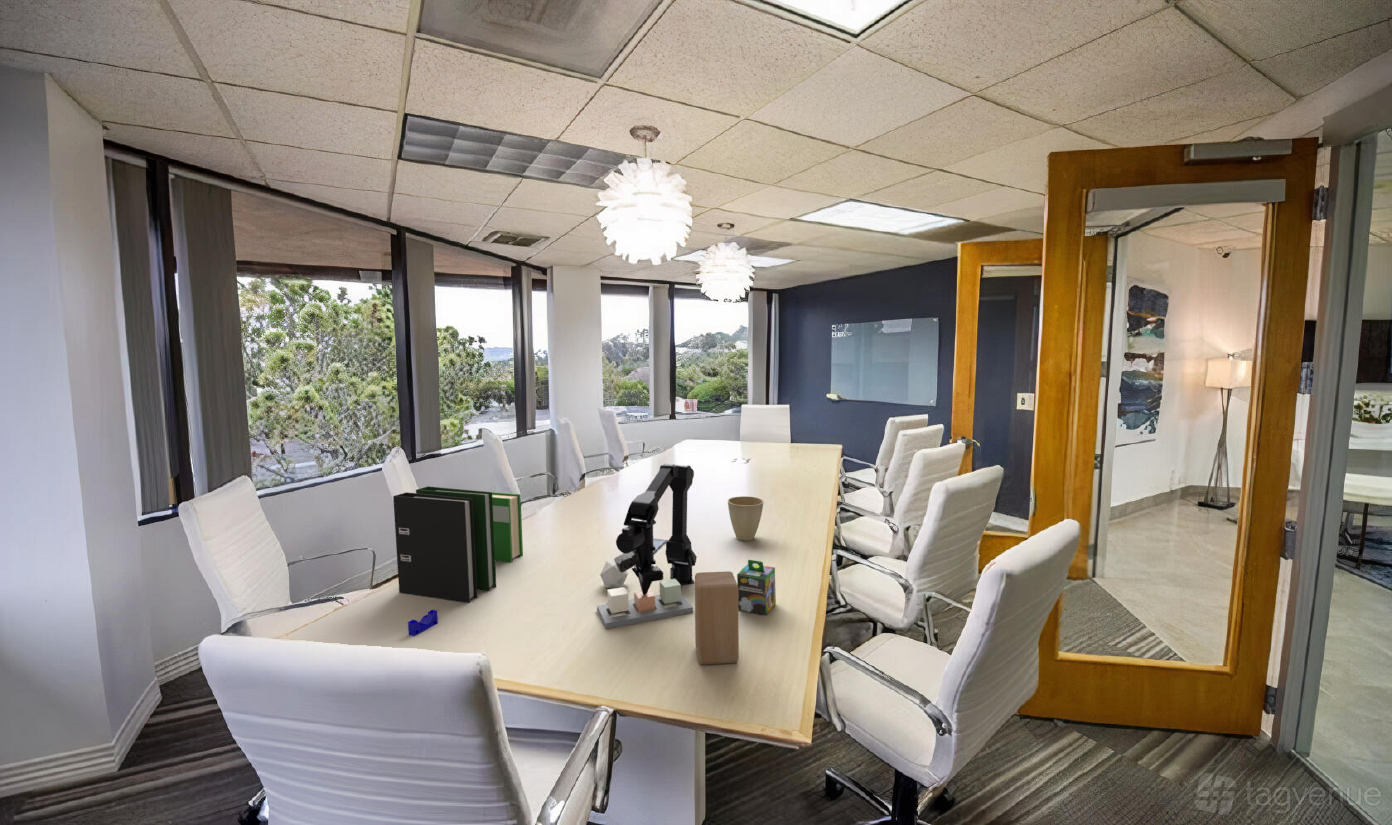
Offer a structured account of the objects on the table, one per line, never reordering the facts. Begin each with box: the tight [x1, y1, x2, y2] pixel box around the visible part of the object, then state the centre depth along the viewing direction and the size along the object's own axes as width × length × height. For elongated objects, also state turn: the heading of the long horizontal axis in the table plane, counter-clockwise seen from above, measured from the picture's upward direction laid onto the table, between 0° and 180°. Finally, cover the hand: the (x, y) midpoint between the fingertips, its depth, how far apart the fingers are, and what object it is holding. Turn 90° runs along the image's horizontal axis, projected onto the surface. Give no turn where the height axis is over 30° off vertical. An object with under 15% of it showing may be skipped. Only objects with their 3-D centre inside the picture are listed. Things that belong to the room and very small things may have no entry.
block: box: [694, 570, 740, 665], centre depth 138 cm, size 10×10×20 cm
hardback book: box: [483, 490, 524, 563], centre depth 210 cm, size 18×7×24 cm, turn 72°
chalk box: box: [736, 559, 777, 617], centre depth 165 cm, size 9×9×15 cm
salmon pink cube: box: [633, 588, 656, 612], centre depth 163 cm, size 5×5×5 cm
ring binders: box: [392, 485, 497, 604], centre depth 179 cm, size 27×15×32 cm, turn 71°
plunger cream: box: [606, 586, 630, 614], centre depth 160 cm, size 5×5×5 cm
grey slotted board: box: [596, 593, 694, 630], centre depth 163 cm, size 26×12×2 cm, turn 112°
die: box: [599, 560, 629, 589], centre depth 182 cm, size 8×9×10 cm
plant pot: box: [727, 495, 764, 542], centre depth 229 cm, size 15×15×16 cm
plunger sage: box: [659, 579, 682, 605], centre depth 166 cm, size 5×5×5 cm
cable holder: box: [407, 609, 439, 637], centre depth 154 cm, size 8×4×4 cm, turn 157°
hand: (644, 593), depth 163 cm, fingers closed, pressing on salmon pink cube
